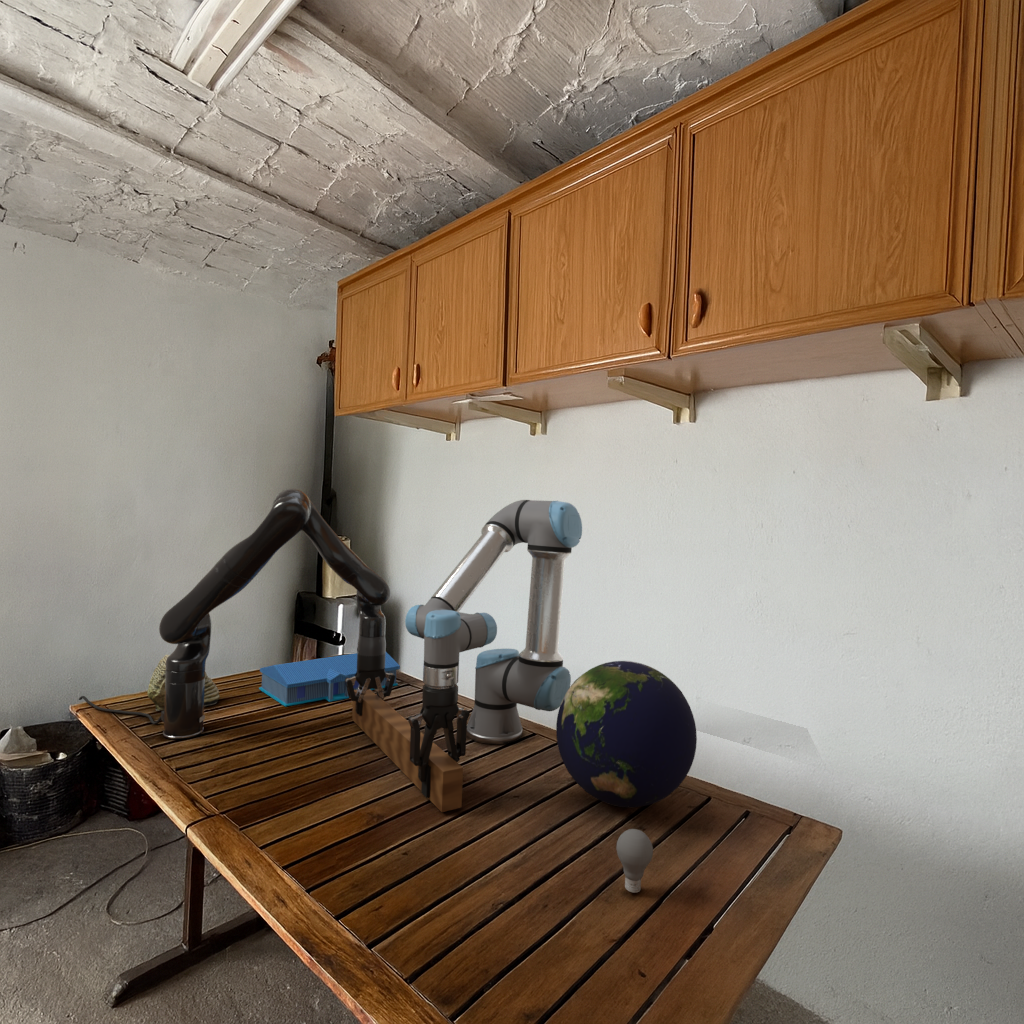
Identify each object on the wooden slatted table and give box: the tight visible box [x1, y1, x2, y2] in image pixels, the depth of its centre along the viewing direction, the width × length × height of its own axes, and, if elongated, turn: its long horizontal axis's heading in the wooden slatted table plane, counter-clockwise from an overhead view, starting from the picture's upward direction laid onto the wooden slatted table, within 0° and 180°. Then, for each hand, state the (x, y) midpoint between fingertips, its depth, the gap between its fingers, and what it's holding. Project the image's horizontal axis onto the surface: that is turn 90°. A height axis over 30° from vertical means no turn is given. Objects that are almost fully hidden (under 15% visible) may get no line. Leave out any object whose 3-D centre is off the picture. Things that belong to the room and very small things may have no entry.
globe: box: [555, 660, 698, 809], centre depth 138 cm, size 30×30×30 cm
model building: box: [258, 651, 401, 707], centre depth 208 cm, size 39×24×10 cm, turn 132°
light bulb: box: [615, 828, 654, 894], centre depth 106 cm, size 6×6×10 cm
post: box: [351, 689, 464, 813], centre depth 154 cm, size 59×4×8 cm, turn 32°
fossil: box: [147, 654, 221, 712], centre depth 185 cm, size 9×18×15 cm, turn 132°
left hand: (369, 713), depth 173 cm, fingers closed on post, 4 cm apart
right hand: (436, 792), depth 135 cm, fingers closed on post, 5 cm apart
